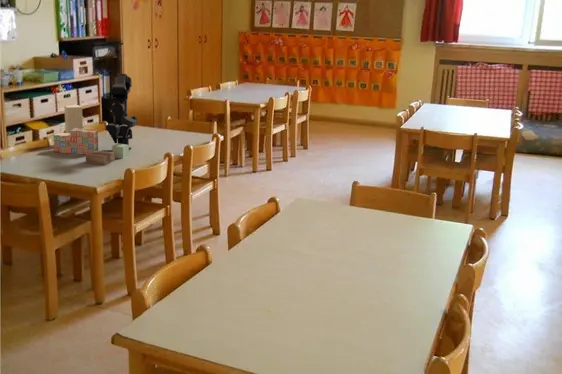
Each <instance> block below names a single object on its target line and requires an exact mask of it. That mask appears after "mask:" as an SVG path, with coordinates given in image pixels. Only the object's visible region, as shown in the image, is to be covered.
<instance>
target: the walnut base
mask: <svg viewBox="0 0 562 374" xmlns="http://www.w3.org/2000/svg"><path fill="white" fill-rule="evenodd" d="M115 160H116V158H115V154H114V152H112V151H105V150H98V151H97V150H96V151H94V152H92V153H89V154H85V163H86V164H93V165H101V166H106V165H108V164H109V163H111V162H115Z"/></svg>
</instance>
